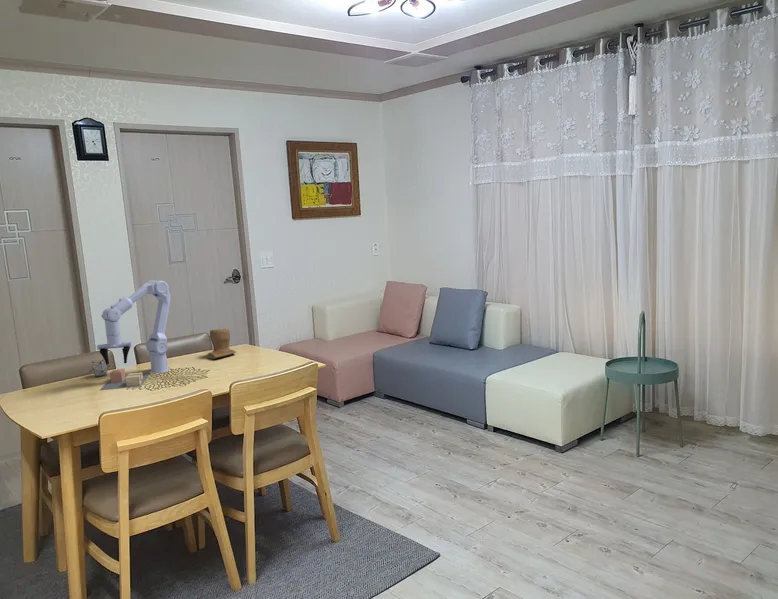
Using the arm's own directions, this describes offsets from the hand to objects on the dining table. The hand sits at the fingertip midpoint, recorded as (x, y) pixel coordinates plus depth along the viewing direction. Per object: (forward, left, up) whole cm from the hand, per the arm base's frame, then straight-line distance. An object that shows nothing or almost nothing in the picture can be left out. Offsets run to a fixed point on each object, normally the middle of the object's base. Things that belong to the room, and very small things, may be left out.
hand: (116, 363), depth 278 cm
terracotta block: (-1, 0, -8) cm, 8 cm away
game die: (-14, -11, -9) cm, 20 cm away
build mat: (+3, +4, -8) cm, 10 cm away
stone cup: (-35, +43, -9) cm, 56 cm away
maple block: (+8, +9, -8) cm, 15 cm away
